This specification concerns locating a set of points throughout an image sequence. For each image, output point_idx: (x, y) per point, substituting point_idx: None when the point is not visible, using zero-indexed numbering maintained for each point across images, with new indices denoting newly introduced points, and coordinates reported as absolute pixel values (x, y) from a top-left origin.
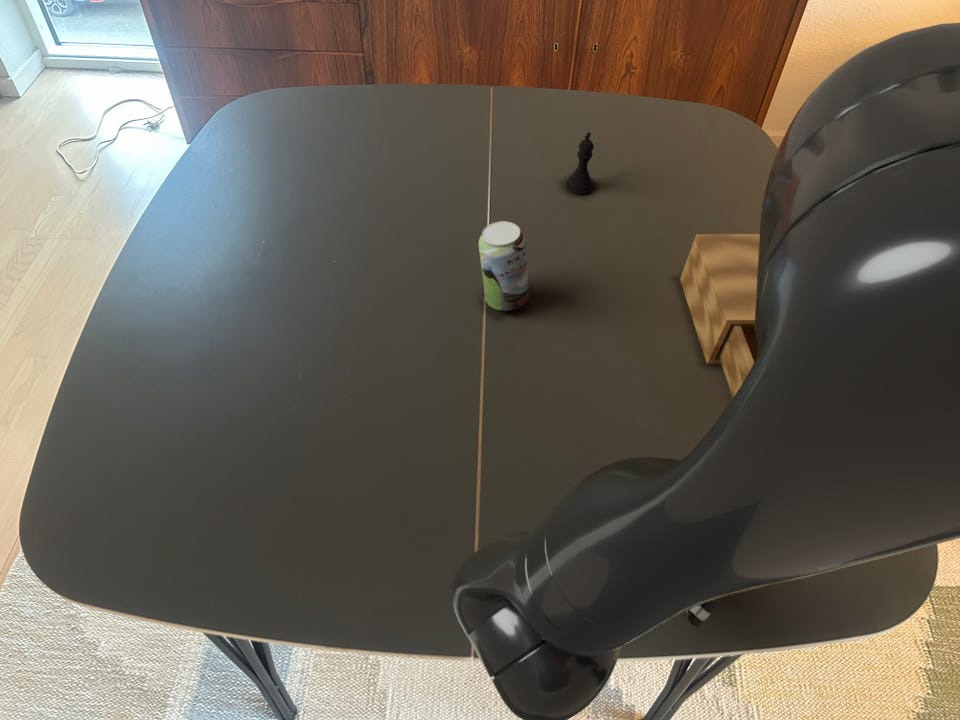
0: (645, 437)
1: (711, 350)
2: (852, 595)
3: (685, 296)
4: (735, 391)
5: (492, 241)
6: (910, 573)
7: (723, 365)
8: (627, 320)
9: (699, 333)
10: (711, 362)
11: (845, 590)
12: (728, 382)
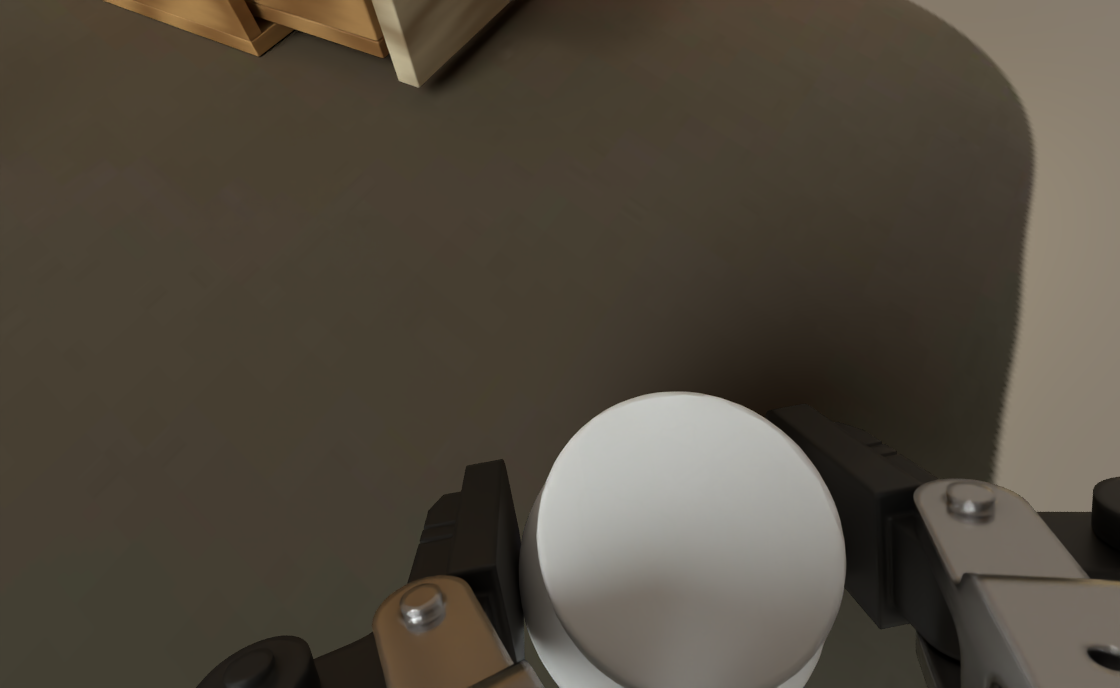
0: (266, 284)
1: (227, 7)
2: (941, 147)
3: (109, 1)
4: (349, 25)
5: None
6: (929, 37)
7: (282, 18)
8: (11, 120)
9: (188, 22)
10: (262, 44)
11: (923, 152)
12: (323, 34)
